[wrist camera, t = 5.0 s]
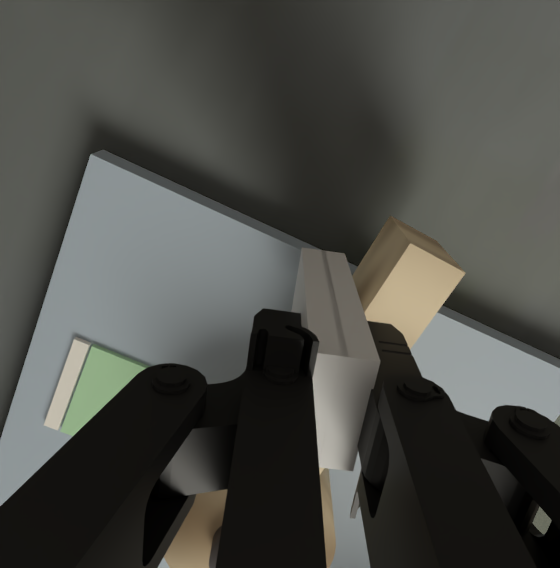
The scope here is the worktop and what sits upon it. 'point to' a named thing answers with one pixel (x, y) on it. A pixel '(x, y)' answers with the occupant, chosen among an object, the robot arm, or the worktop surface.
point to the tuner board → (207, 323)
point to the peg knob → (378, 308)
